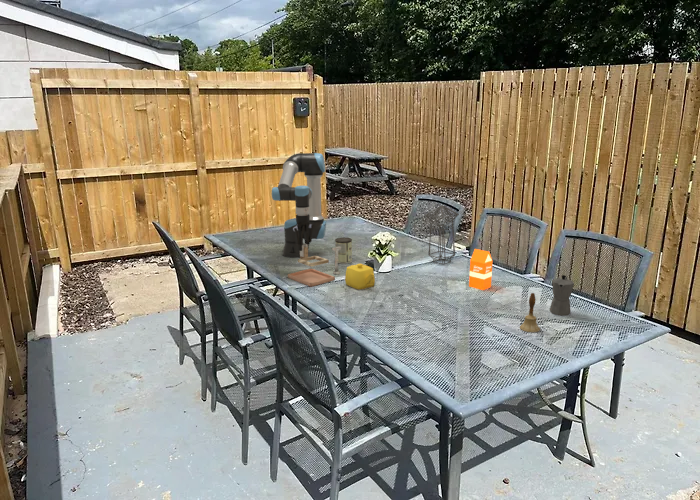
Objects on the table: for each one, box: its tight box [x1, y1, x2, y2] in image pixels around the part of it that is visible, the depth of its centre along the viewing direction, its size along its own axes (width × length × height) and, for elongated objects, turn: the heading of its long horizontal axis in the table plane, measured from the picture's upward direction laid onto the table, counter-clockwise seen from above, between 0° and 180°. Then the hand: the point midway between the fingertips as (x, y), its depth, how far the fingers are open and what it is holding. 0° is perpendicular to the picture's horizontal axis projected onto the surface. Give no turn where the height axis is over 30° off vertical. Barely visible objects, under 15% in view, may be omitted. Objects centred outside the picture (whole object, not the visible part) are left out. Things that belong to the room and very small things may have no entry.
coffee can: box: [334, 237, 353, 264], centre depth 328 cm, size 10×10×14 cm
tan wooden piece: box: [297, 247, 330, 268], centre depth 293 cm, size 17×12×7 cm
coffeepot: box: [549, 274, 575, 317], centre depth 245 cm, size 15×9×18 cm, turn 151°
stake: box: [331, 246, 341, 275], centre depth 304 cm, size 4×6×15 cm
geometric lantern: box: [425, 205, 460, 265], centre depth 323 cm, size 16×16×35 cm
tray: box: [287, 267, 336, 288], centre depth 296 cm, size 22×17×2 cm
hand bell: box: [519, 292, 541, 333], centre depth 227 cm, size 8×8×16 cm
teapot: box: [344, 263, 376, 291], centre depth 284 cm, size 20×12×12 cm, turn 37°
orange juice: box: [468, 248, 493, 291], centre depth 279 cm, size 8×9×20 cm
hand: (303, 255), depth 298 cm, fingers closed on tan wooden piece, 2 cm apart
